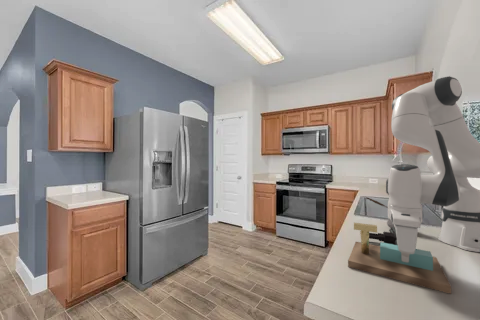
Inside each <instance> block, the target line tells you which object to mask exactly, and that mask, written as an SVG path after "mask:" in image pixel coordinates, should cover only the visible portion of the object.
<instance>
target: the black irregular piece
mask: <svg viewBox="0 0 480 320" xmlns="http://www.w3.org/2000/svg"><path fill="white" fill-rule="evenodd" d="M382 232H383V233H379V232H377V233H376V232H369V240H370V239H371V240H378V241H379V242H382V243H388V244H393V245H398V244H397V236H396V230H395V229H394V228H392V227H391V228H389V230H388V231H382Z"/></svg>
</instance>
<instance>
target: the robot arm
mask: <svg viewBox="0 0 480 320" xmlns="http://www.w3.org/2000/svg"><path fill="white" fill-rule="evenodd" d="M462 93H463V91H462V86H461V83H460V81H459V80H458V79H457V78H455V77H453V76H451V75H449V76H444V77H443V76H442V77H440V78H437V79H436V80H432V81H429V82H426V83H423V84H421V85H418V86H417V87H415V88H413V89H410V90H408V91H406V92H404V93H401V94H399V95H398V96H396V97H395V98H394V99H393V100H392V102H391V109H392V113H391V123H390V126H391V133H392V136H393V137H394V138H395V139H396V140H398V141H400V142H401V143H402V144H403V143H404V144H406V145H409V146H410V145H411V146H415V147H419V148H421V149H425V150H426V151H428V152H429V153H430V154H431V155H429V157H428V159H427V161H426V166H427V169H428V170H429V171H430V172H431V173H432V174H422V173H421V170H420V166H417V165H414V164H408V163H407V164H405V163H403V164H401V163H400V164H395V165H391V167H390V169H389V174H388V178H387V179H386V180H385V193H386V194H387V195H388V197H389V198H388V201H387V206H388V208H387V219H390V220H391V221H392V223H393V224H394V226H395V230H396V236H397V244H398V249H399V251H400V252H401V259H402V261H403V262H407V263H408V262H409V255H410V254H414V253H415V249H417V241H418V232H419V229H420V228H421V226H422V225H421V224H423V204H430V205H434V206H439V207H440V206H441V221H442V223H441V229H440V232H439V235H438V240H439V241H440V242H443V243H445V244H448V245H450V246H455V247H458V248H459V249H462V250H466V251H470V252H476V253H480V190H478V189H477V188H476V187H474V186H473V185H472V184H471V183H470V182H469V180H468V178H474V179H475V178H476V179H480V142H479V141H478V140H477V139H476V138H475V136H474V135H472V133H471V131H470V130H469V127H468V125H467V123H466V120H465V118H464V116H463V113H462V111H461V110H460V107H459V106H458V103H457V102H458V101H459V100H460V98H461V97H462Z"/></svg>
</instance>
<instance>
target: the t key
mask: <svg viewBox="0 0 480 320" xmlns="http://www.w3.org/2000/svg"><path fill="white" fill-rule="evenodd" d="M353 230H354V231H359V235H360V242H361V252H362V253H365V254H369V244H370V238H369V233H375V234H378V226H377V224H369V223H361V222H353Z"/></svg>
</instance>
